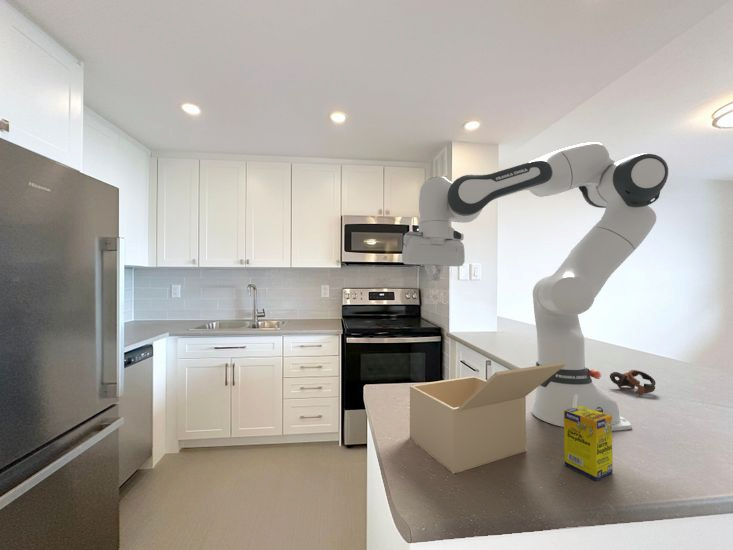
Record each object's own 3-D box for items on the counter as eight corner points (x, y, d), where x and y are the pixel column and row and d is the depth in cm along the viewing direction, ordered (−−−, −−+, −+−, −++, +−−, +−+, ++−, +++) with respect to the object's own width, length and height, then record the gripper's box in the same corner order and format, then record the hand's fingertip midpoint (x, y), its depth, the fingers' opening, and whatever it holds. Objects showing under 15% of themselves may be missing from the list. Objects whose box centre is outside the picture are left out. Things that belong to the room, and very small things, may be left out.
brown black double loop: (642, 389, 110) (654, 372, 106) (650, 409, 102) (663, 392, 98) (603, 377, 114) (612, 360, 110) (608, 395, 107) (618, 378, 103)
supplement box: (597, 482, 56) (596, 421, 56) (563, 465, 61) (562, 409, 62) (614, 473, 59) (612, 415, 59) (580, 457, 64) (579, 404, 64)
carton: (473, 422, 80) (473, 375, 81) (526, 451, 66) (525, 394, 67) (408, 437, 72) (408, 385, 72) (453, 474, 58) (453, 409, 58)
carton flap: (564, 362, 58) (566, 364, 58) (522, 395, 66) (523, 397, 66) (495, 372, 51) (497, 374, 50) (457, 408, 59) (458, 411, 58)
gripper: (410, 228, 83) (409, 280, 82) (468, 234, 91) (468, 281, 91) (397, 232, 88) (397, 280, 88) (453, 237, 97) (453, 281, 96)
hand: (434, 280), depth 89 cm, fingers closed
